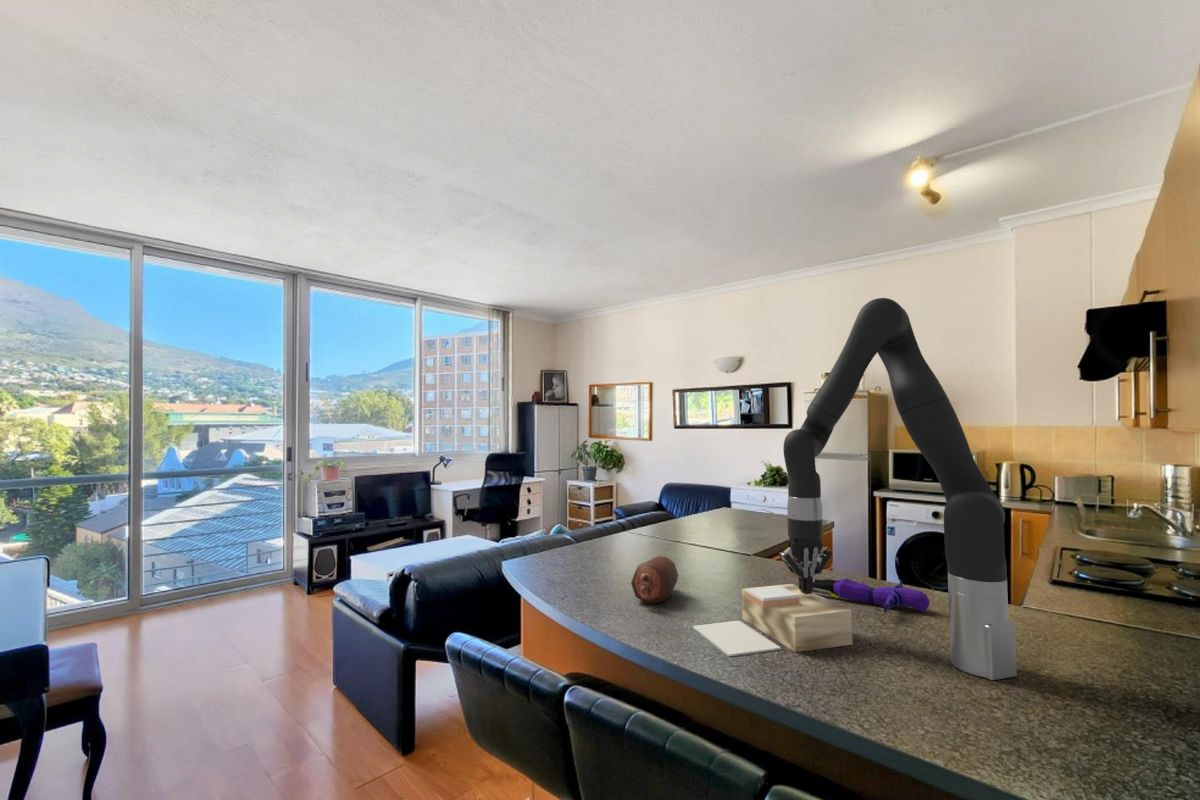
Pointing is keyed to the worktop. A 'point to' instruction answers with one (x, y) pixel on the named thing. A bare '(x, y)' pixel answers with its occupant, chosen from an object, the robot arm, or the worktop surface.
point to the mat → (735, 638)
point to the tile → (772, 596)
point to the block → (802, 621)
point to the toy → (875, 594)
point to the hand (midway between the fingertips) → (806, 593)
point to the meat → (654, 580)
